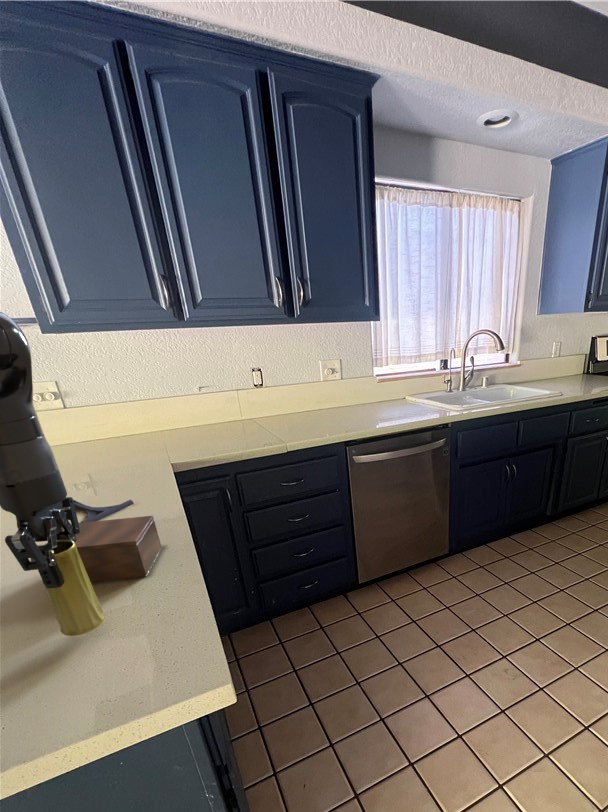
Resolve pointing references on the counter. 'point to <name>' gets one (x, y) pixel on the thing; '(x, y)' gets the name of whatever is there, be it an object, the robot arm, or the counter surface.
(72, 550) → the vase
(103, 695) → the counter surface
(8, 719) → the counter surface
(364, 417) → the counter surface
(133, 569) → the chest
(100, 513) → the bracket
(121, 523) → the lid
